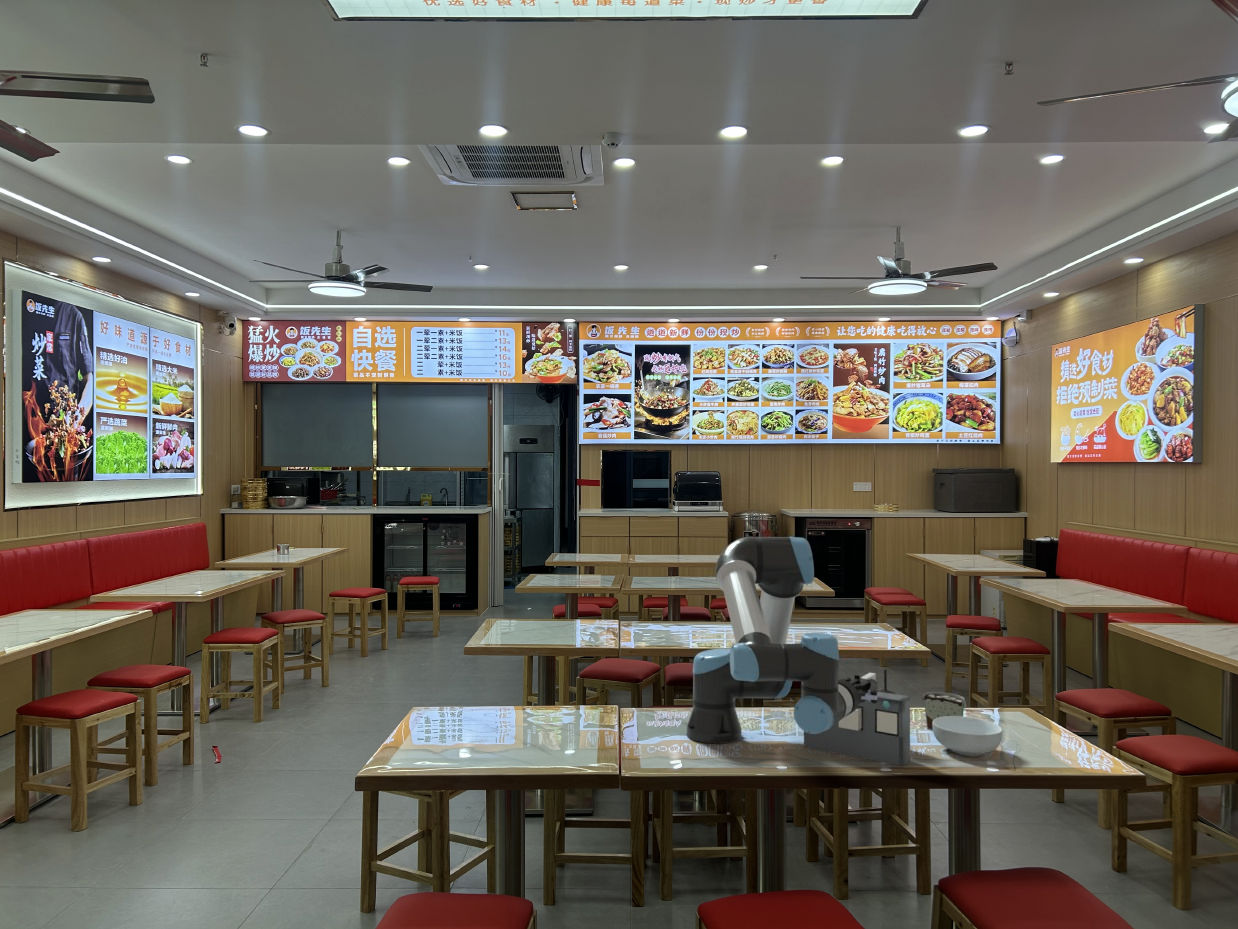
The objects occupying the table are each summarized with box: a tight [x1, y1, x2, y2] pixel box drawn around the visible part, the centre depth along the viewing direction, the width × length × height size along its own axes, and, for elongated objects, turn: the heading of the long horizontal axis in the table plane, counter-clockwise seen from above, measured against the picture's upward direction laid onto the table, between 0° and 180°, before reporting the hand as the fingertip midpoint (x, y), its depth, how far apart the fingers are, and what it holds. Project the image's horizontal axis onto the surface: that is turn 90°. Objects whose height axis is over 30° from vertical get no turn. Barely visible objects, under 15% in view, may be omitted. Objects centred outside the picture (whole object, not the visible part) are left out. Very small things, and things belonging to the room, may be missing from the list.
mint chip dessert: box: [921, 691, 968, 731], centre depth 237 cm, size 12×6×10 cm, turn 47°
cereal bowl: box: [932, 715, 1003, 757], centre depth 217 cm, size 17×17×7 cm
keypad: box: [803, 692, 911, 767], centre depth 215 cm, size 6×26×16 cm, turn 55°
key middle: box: [839, 707, 863, 731], centre depth 212 cm, size 4×5×5 cm
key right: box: [877, 710, 899, 734], centre depth 209 cm, size 4×5×5 cm
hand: (872, 678), depth 198 cm, fingers closed
